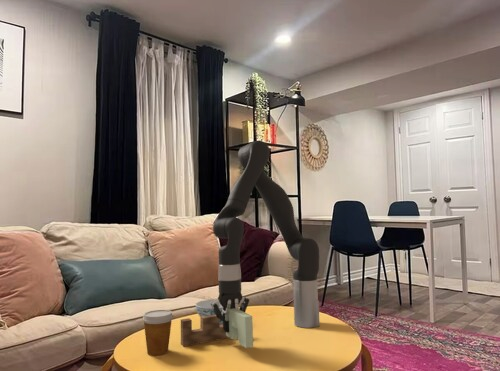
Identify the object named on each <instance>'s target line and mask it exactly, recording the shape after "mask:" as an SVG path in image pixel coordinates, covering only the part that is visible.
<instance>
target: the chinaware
mask: <svg viewBox="0 0 500 371" xmlns="http://www.w3.org/2000/svg"><path fill="white" fill-rule="evenodd" d="M217 300H218V298H215V299H214V298H213V299H206V300H205V299H204V300H200V301H198V302H196V303H195V309H196V313H197V314H198V316H199V318H200V317H201V316H207V315H214V314H215V312H214V310H213V308H212V306H211V303H212V302H215V301H217ZM219 306H220V307H219V310H220V312H221V314H222V313H223V312H222V305H221V304H220V303H219ZM219 325H223V320H220V319H219Z"/></svg>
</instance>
